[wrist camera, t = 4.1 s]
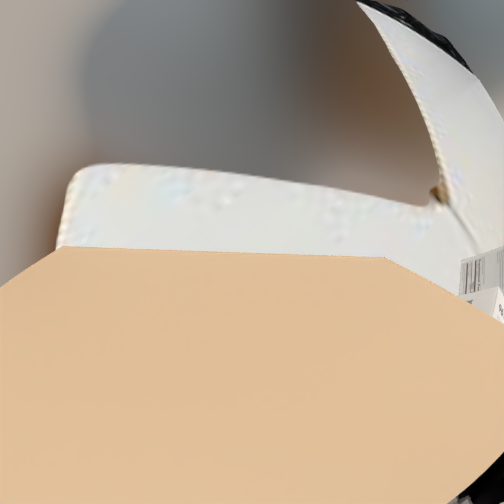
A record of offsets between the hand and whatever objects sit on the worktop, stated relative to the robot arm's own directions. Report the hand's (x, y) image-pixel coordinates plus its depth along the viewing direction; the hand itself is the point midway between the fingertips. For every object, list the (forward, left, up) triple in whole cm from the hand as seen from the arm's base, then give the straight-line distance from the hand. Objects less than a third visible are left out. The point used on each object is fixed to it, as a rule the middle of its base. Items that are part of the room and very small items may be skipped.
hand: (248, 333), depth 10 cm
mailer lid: (0, 0, +2) cm, 2 cm away
